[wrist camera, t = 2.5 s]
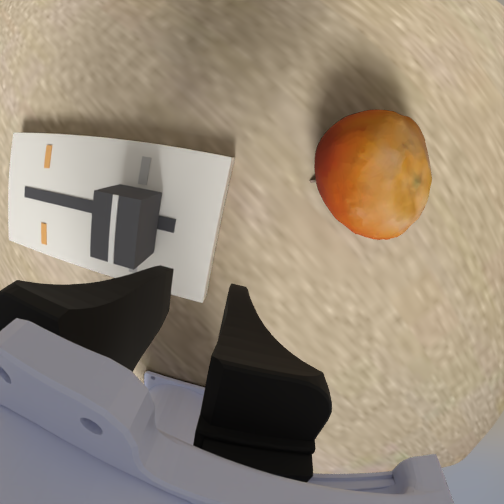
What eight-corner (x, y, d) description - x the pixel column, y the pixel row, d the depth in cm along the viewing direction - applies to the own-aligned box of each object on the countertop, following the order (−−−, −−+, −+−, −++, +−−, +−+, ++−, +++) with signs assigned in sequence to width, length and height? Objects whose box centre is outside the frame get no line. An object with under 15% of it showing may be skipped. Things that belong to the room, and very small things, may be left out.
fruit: (295, 92, 17) (393, 87, 10) (370, 125, 21) (456, 139, 14) (270, 207, 19) (355, 252, 13) (349, 217, 23) (427, 254, 17)
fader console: (234, 157, 20) (231, 157, 18) (206, 294, 23) (202, 303, 22) (23, 132, 20) (12, 132, 18) (18, 236, 23) (8, 240, 22)
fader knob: (162, 192, 19) (140, 200, 16) (154, 252, 21) (133, 270, 17) (119, 184, 19) (93, 190, 16) (114, 241, 21) (89, 257, 17)
